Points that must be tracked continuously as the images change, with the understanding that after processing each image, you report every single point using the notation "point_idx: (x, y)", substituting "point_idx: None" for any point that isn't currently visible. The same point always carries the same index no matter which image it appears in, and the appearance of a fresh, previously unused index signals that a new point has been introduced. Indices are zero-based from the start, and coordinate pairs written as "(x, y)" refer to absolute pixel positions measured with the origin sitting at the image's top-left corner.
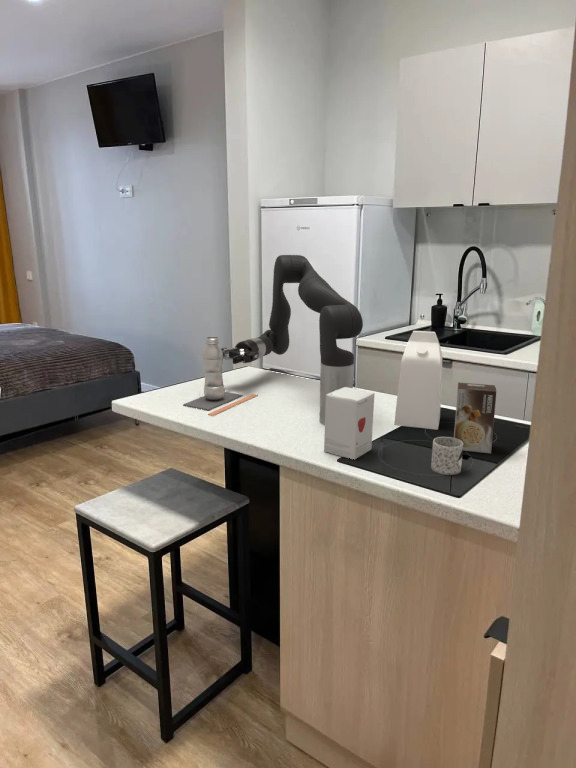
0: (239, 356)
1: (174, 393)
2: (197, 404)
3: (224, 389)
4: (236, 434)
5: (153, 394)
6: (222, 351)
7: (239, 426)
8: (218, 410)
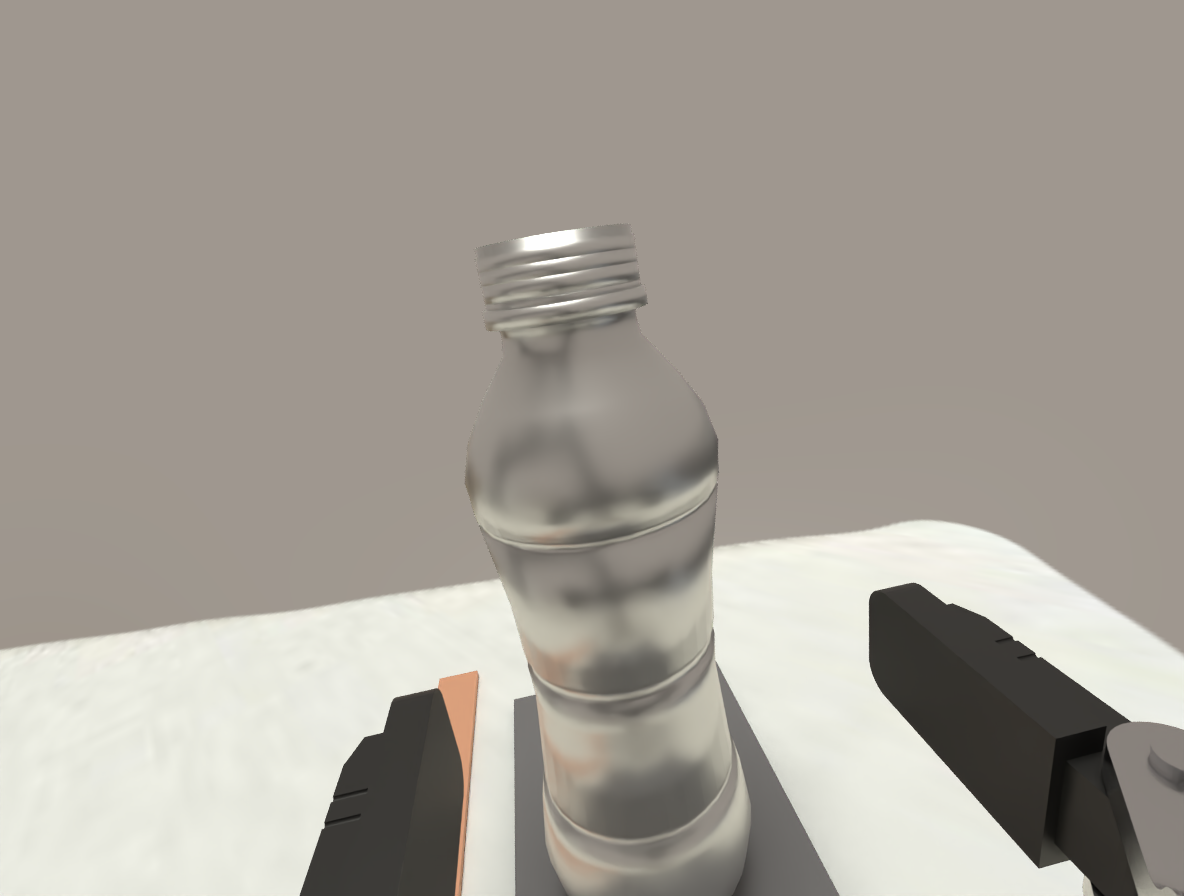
0: (355, 859)
1: None
2: None
3: (557, 857)
4: (235, 639)
5: (1102, 650)
6: (1145, 833)
7: (242, 688)
8: (455, 735)
